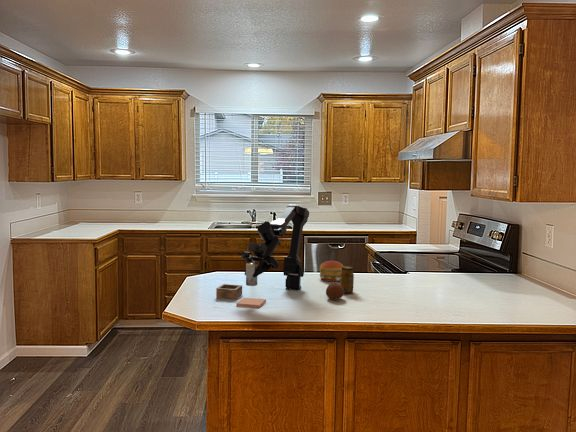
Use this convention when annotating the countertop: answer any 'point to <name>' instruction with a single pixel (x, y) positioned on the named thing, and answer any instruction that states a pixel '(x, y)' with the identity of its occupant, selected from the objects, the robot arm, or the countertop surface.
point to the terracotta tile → (251, 302)
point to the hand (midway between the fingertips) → (249, 275)
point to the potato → (334, 291)
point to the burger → (331, 271)
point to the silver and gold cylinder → (251, 274)
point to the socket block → (229, 291)
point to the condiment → (347, 280)
